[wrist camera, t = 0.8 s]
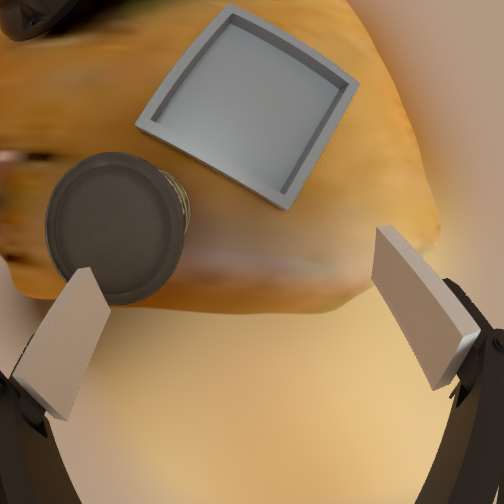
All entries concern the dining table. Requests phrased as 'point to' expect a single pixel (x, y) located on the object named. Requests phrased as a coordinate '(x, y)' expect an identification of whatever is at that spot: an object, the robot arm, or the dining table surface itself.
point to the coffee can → (117, 225)
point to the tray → (251, 105)
